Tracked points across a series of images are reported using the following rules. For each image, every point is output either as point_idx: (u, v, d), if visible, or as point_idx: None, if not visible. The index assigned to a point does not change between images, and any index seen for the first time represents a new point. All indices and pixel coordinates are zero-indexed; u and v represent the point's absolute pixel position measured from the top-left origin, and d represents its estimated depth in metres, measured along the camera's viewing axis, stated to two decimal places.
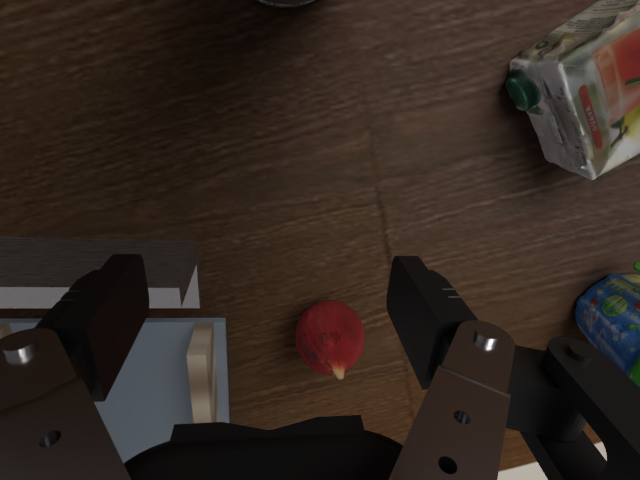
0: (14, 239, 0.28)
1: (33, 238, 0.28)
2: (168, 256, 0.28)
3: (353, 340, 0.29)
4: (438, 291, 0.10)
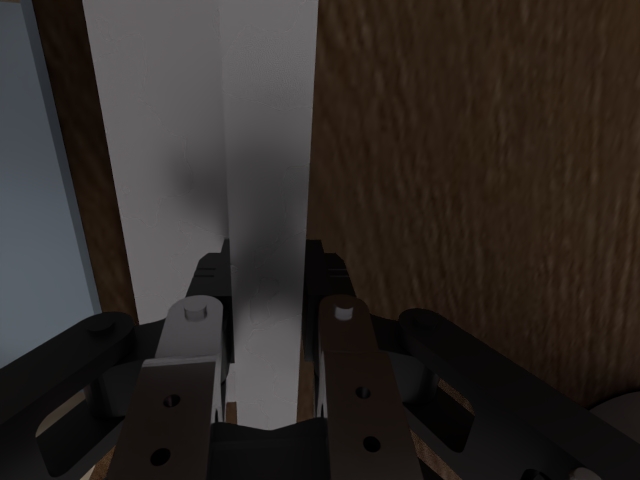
0: None
1: None
2: None
3: None
4: (322, 270, 0.11)
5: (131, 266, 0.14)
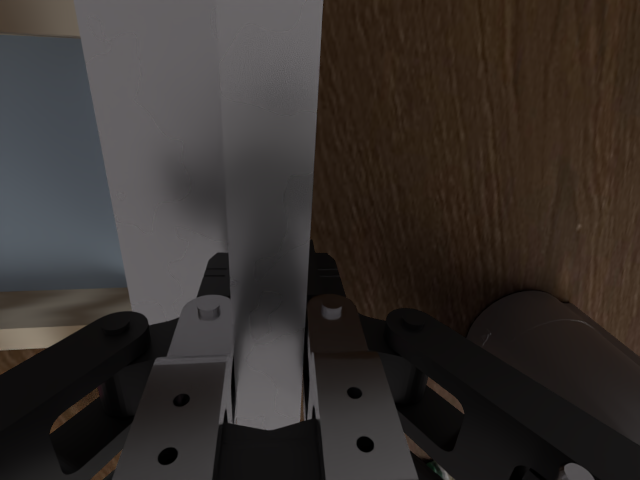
0: None
1: None
2: None
3: None
4: (312, 269, 0.11)
5: (127, 274, 0.13)
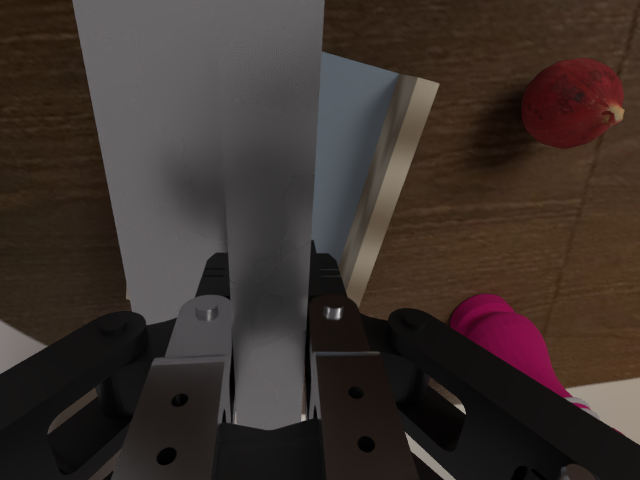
0: None
1: None
2: None
3: None
4: (314, 269, 0.11)
5: (127, 274, 0.13)
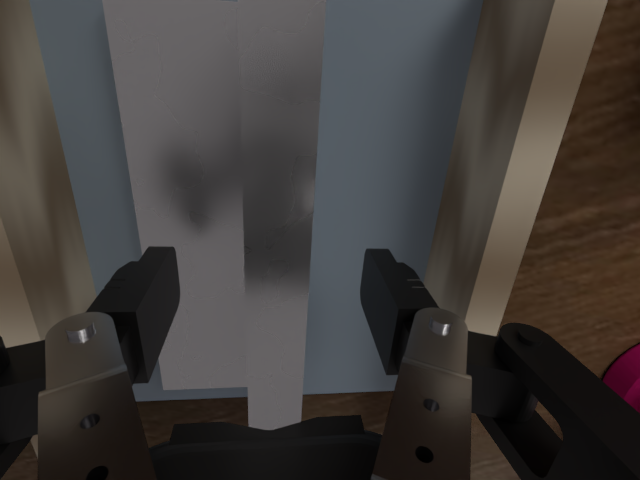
0: None
1: None
2: None
3: None
4: (402, 281, 0.10)
5: None
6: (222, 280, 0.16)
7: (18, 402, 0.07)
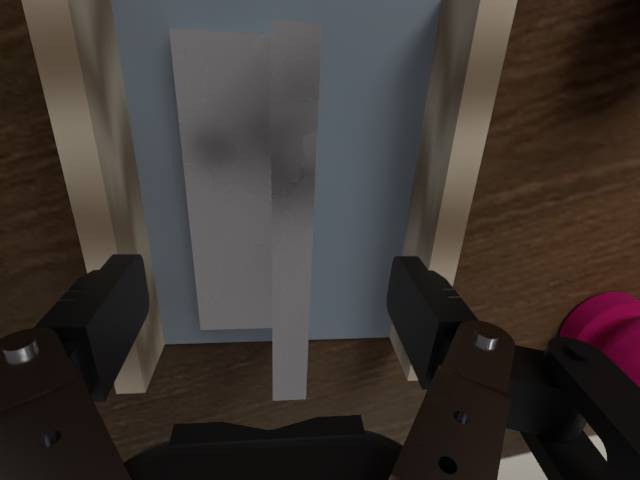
0: None
1: None
2: None
3: None
4: (438, 291, 0.10)
5: (190, 219, 0.20)
6: (247, 238, 0.20)
7: None
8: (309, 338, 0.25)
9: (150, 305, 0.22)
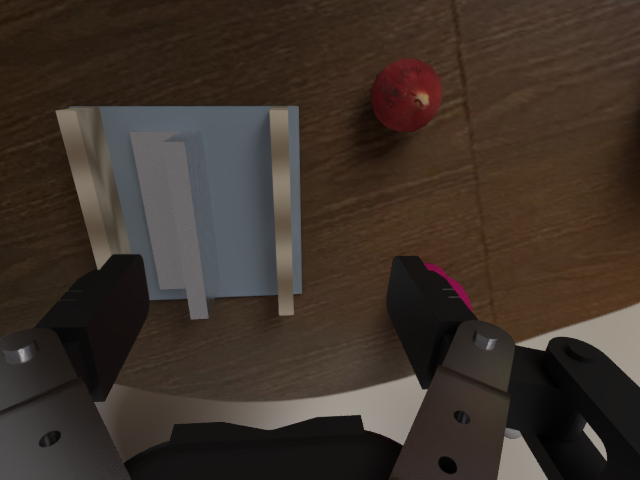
0: (204, 162, 0.35)
1: (206, 173, 0.36)
2: (214, 281, 0.38)
3: (433, 77, 0.29)
4: (438, 291, 0.10)
5: (148, 225, 0.36)
6: None
7: None
8: (229, 296, 0.42)
9: None
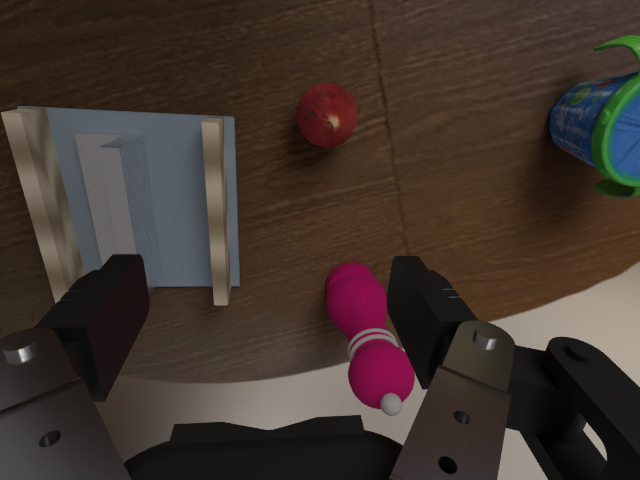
0: (146, 164, 0.38)
1: (148, 174, 0.39)
2: (154, 272, 0.41)
3: (346, 102, 0.33)
4: (438, 291, 0.10)
5: (93, 218, 0.39)
6: None
7: None
8: (171, 285, 0.45)
9: (76, 263, 0.41)
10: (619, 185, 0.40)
